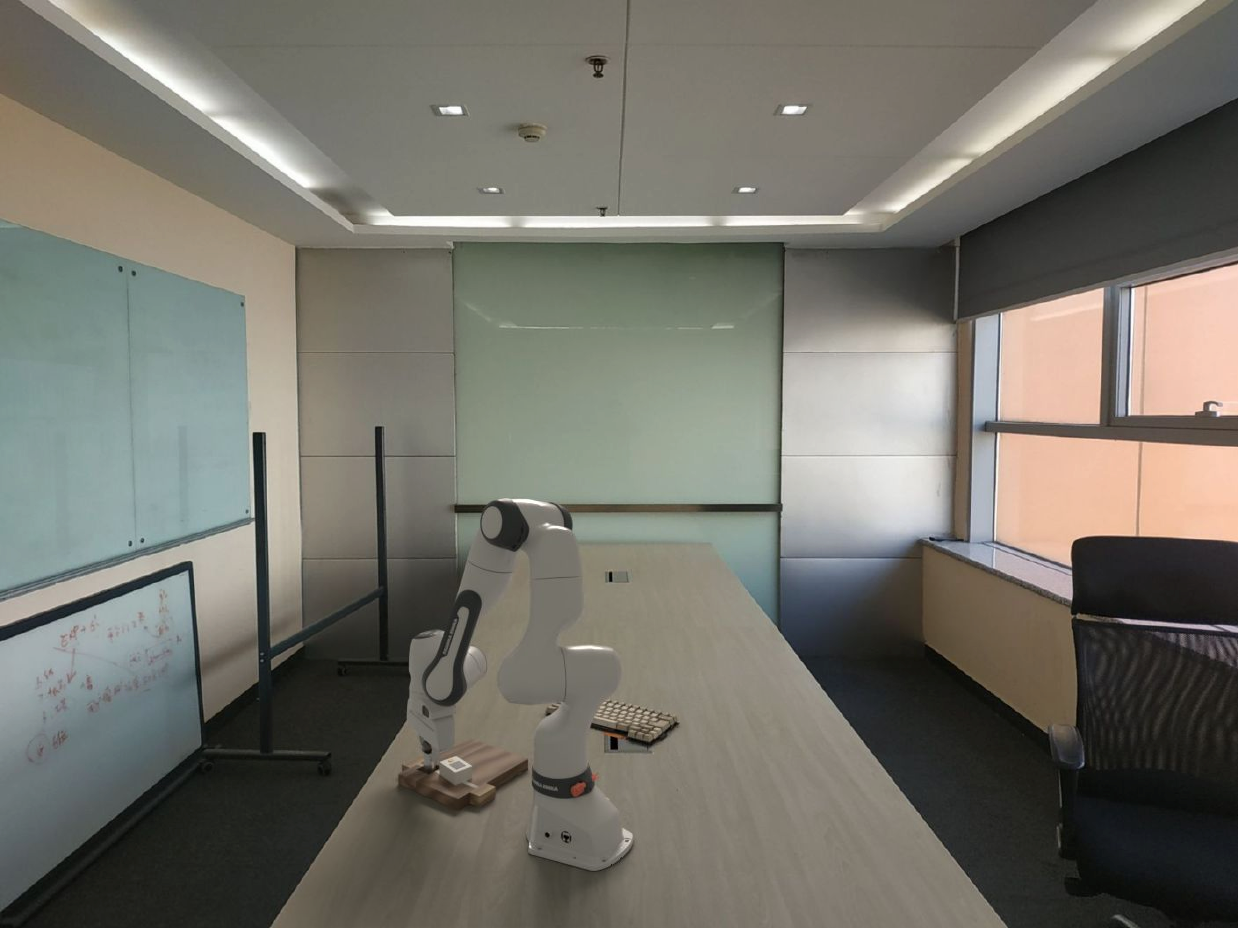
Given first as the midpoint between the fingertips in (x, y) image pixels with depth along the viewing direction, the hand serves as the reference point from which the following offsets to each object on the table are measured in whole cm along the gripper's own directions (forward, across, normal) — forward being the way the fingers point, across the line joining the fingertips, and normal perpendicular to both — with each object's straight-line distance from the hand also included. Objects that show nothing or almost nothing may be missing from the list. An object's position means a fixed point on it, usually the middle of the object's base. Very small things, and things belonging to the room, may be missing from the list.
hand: (429, 755), depth 173 cm
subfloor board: (+6, +4, +7) cm, 10 cm away
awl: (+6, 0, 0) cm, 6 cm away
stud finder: (+3, +7, +3) cm, 9 cm away
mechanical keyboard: (+6, -2, +55) cm, 55 cm away
